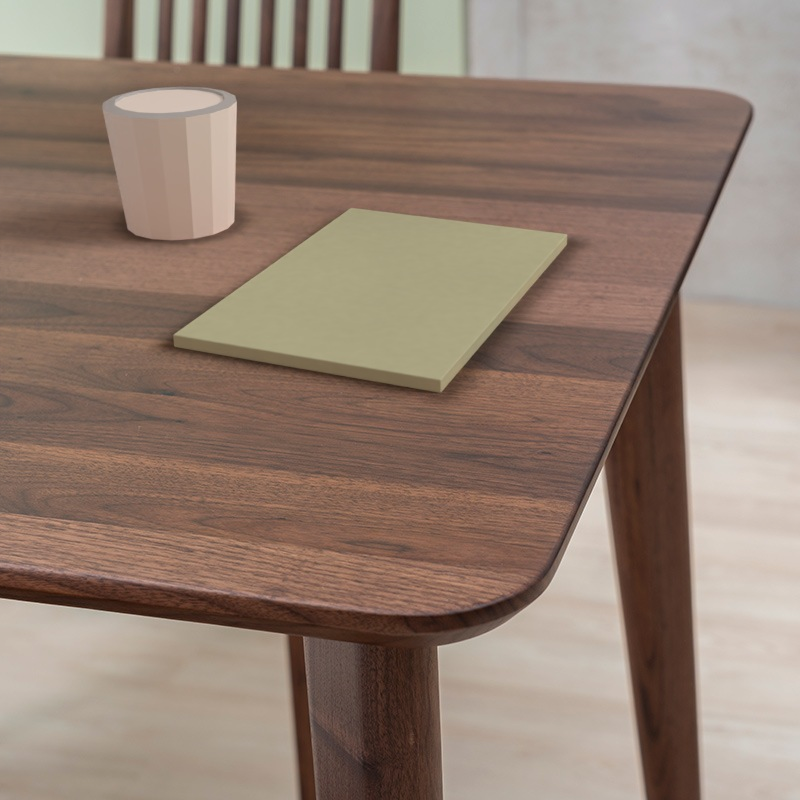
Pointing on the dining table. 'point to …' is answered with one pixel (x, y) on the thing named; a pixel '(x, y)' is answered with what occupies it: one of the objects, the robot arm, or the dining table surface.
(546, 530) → the dining table surface
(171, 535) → the dining table surface
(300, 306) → the mat
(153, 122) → the pale pink cup
